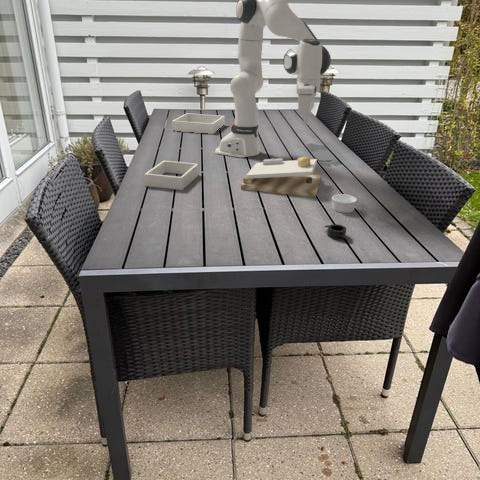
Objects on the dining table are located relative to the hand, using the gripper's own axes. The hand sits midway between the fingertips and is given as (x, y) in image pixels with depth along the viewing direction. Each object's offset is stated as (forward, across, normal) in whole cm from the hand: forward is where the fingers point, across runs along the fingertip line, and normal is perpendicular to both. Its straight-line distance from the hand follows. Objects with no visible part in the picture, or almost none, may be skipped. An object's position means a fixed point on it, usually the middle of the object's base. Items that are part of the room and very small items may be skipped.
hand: (305, 123), depth 180 cm
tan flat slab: (+26, 0, -8) cm, 27 cm away
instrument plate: (+20, 0, -8) cm, 21 cm away
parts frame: (+25, +9, -53) cm, 59 cm away
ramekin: (+26, +20, +18) cm, 38 cm away
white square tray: (+24, -87, -74) cm, 117 cm away
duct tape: (+27, +44, +17) cm, 54 cm away
